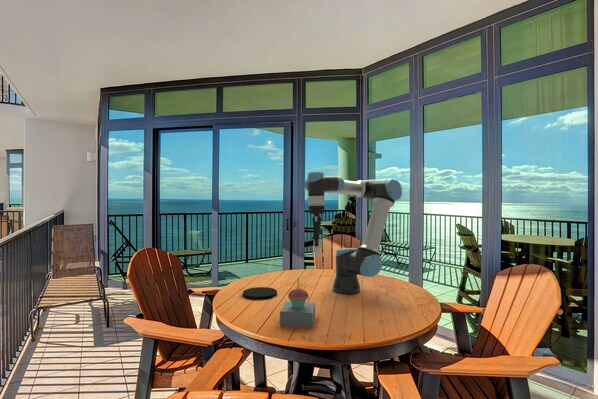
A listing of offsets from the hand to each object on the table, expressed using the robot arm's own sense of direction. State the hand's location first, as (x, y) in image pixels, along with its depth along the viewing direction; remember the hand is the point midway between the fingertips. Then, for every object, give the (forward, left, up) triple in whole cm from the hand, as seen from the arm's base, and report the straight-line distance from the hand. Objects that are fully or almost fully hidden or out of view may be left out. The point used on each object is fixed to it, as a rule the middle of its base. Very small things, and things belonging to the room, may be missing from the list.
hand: (317, 250), depth 158 cm
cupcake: (+6, +18, -21) cm, 28 cm away
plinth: (+7, +19, -26) cm, 33 cm away
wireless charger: (+32, -16, -27) cm, 45 cm away
